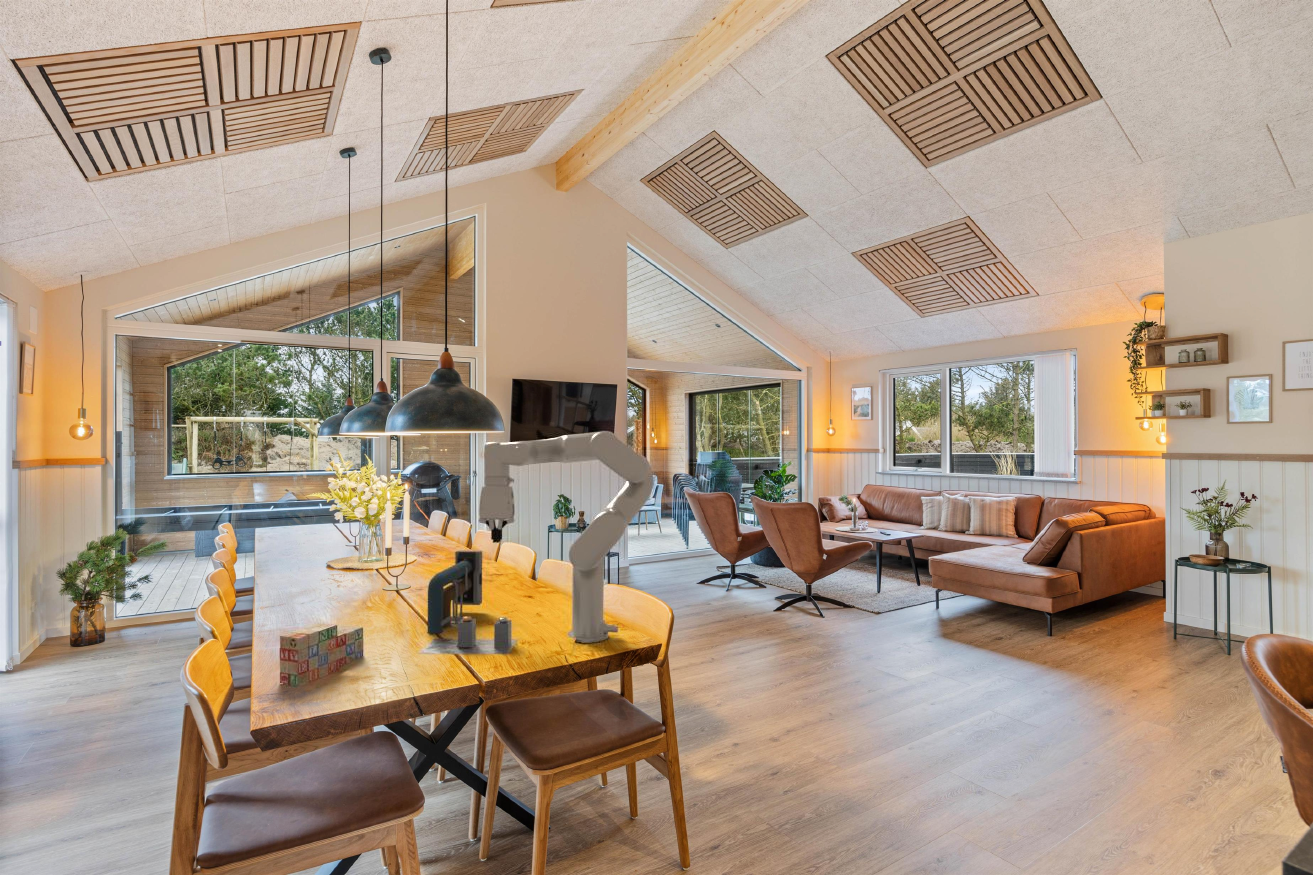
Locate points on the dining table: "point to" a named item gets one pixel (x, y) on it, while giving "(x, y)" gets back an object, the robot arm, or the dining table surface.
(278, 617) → the dining table surface
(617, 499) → the robot arm
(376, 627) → the dining table surface
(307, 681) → the stack of blocks
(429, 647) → the hole plate
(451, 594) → the curved pipe assembly
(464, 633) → the block
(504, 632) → the fixed leg
